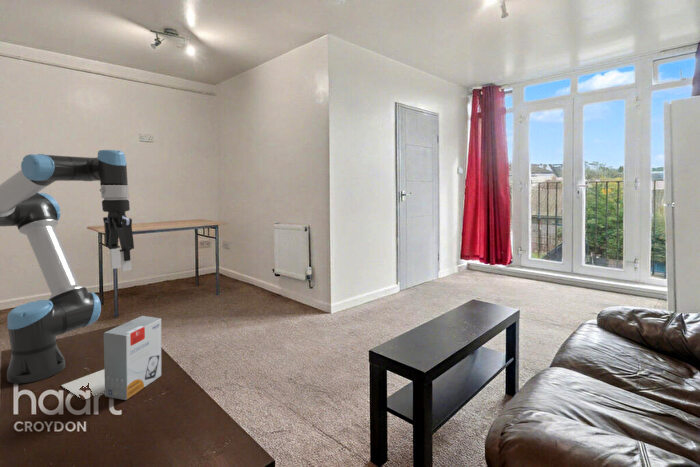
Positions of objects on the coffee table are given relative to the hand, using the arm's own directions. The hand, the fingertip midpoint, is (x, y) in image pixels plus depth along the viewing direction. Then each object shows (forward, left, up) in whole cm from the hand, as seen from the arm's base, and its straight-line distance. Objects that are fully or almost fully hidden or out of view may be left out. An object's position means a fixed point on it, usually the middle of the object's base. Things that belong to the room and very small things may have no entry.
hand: (121, 269), depth 125 cm
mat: (+1, -10, -35) cm, 36 cm away
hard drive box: (+13, -5, -35) cm, 38 cm away
